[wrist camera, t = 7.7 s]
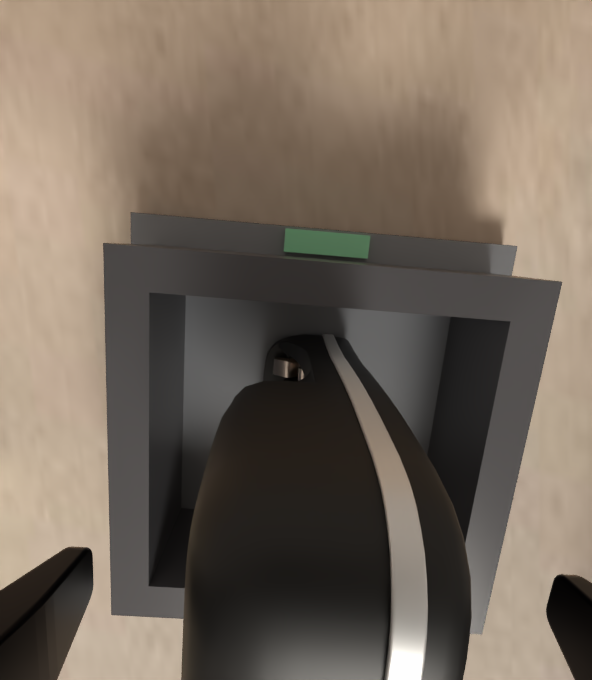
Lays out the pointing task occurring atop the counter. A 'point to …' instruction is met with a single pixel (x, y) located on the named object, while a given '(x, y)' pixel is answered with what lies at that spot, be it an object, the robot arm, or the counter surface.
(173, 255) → the dock
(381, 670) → the battery charger
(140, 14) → the counter surface
